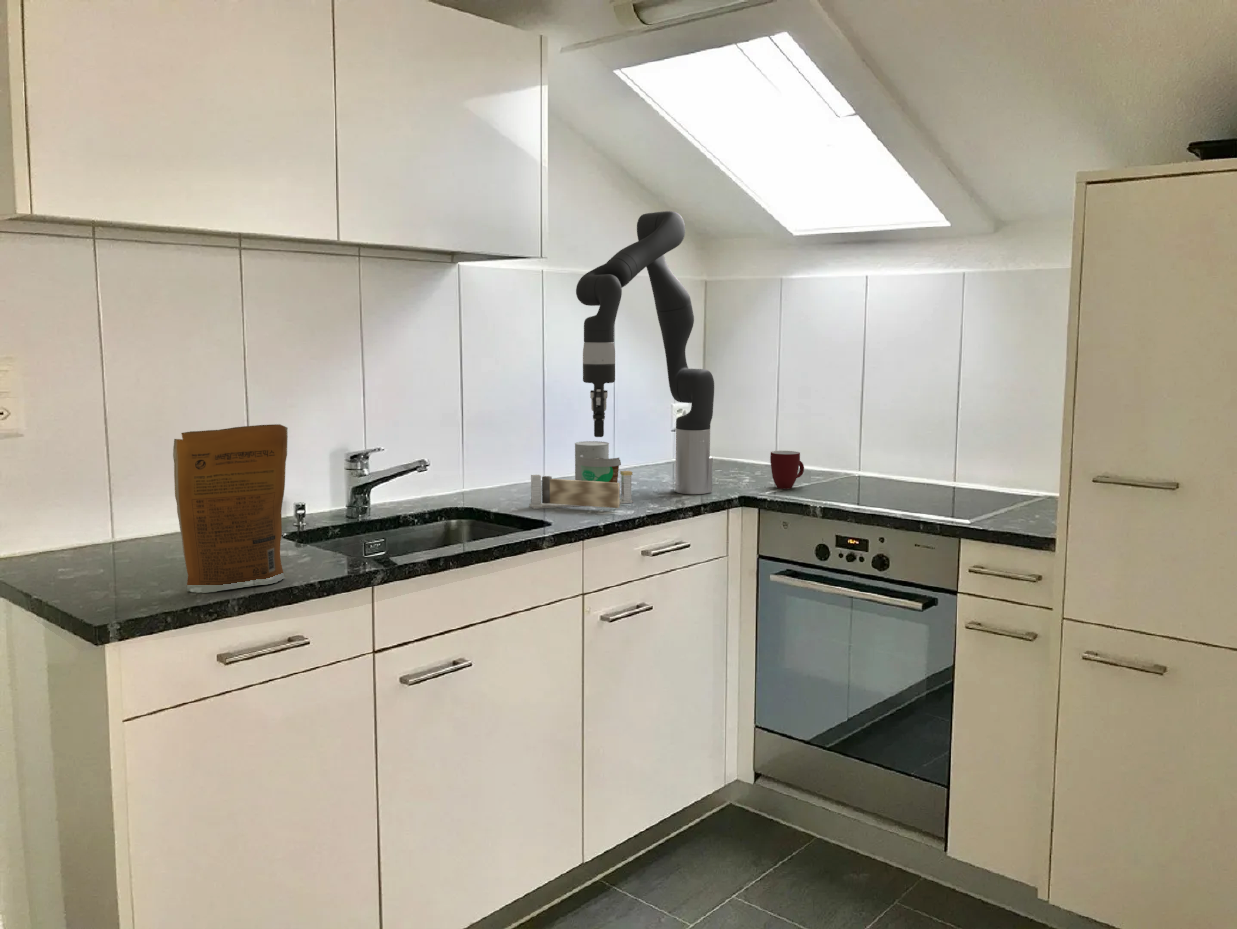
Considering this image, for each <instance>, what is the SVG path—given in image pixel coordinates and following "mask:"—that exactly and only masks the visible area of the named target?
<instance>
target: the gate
mask: <svg viewBox="0 0 1237 929" xmlns="http://www.w3.org/2000/svg"><path fill="white" fill-rule="evenodd" d="M620 485H621V482H617V483H614V482H597V481H581V480H575V479H564V478H563V479H562V478H553V476H550V475H543V476H541V504H542V503H545V504H548V503H552V504H566V505H580V506H579V507H584V506H585V507H595V508H596V507H597V508H598V507H599V508H613V509H619V508H621V507H620V505H621V504H620V499H621V497H620V496H621V495H620V494H621V493H620V492H621V490H620V489H621V488H620V487H621V486H620Z"/></svg>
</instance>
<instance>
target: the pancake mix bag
mask: <svg viewBox="0 0 1237 929" xmlns="http://www.w3.org/2000/svg"><path fill="white" fill-rule="evenodd" d="M180 433H181V434H180V435H181V438H182V439H181V438H174V440H173V449H172V450H173V452H172V459H173V466H174V467H173V473H174V474H173V476H174V477H173V478H174V497H175V501H176V512H177V513H176V514H177V518H178V522H179V530H180V536H181V543H182V552H183V558H184V562H185V568H186V572H187V581H186V586H187V585H223V584H231V583H237V582H245V581H250V580H256V579H266V578H270V577H273V576H275V575H278V574H281V573H284V569H283V565H282V559H281V543H282V541H281V540H282V537H283V536H282V535H283V532H282V531H283V530H282V528H283V525H282V523H283V522H282V508H283V503H284V502H283V501H284V497H285V487H286V465H287V464H286V463H287V458H288V427H287V426H286V425H282V424H280V423H278V424H277V423H276V424H275V423H274V424H257V425H244V426H235V427H229V428H223V429H208V430H197V431H196V430H194V431H185V432H180ZM284 574H285V573H284Z"/></svg>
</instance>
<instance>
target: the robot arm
mask: <svg viewBox="0 0 1237 929" xmlns="http://www.w3.org/2000/svg"><path fill="white" fill-rule="evenodd" d="M636 235H637V241H636V242H634V243H631V244H629V245H627V246H626V247H624V248H622V249H620V250H619V251H618V252H616V253H615V254H614V255H613V256H612V257H611V258H610V259H608V260H607V261H606V263H604V264H602V265H599V266H597V267H596V268H593V269H591V270H589V271H588V272H586V273H585V274H584V275H582V277H580V279H579V280H578V282H577V285H576V289H575V295H576V297H577V299H578V301H579V303H581V304H583V305H584V306H588V307H590V306H592V307H593V306H594V307H595V306H597V307H598V306H599V307H598V311H597V313H596V314H595V315H592V316H588V317H586V318H585V319H584V323H583V347H582V348H583V349H582V381H583V383H585V384H593V390H592V389H591V390H590V392H589V393H590V395H589V396H590V399H591V403H590V404H591V411H593V412H592V414H593V415H592V420H593V435H594V437H595V438H603V437H604V435H605V420H606V419H605V418H606V412H605V411H606V410H607V398H608V390H607V389H605V384H612V383H615V381H616V349H615V324H616V319H617V315H618V311H619V307H620V303H621V299H622V295H623V288H624V287H626V286H627V285H628V284H629V283H630V282H632V280H633V279H634V278H635V277H636V276H637V275H638V274H640V273H641V272H642V271H643V270H644V269H645V268H646V270H647V274H648V277H649V282H650V285H651V290H652V294H653V298H654V300H653V301H654V305H655V310H656V315H657V320H658V323H659V327H660V332H661V333H660V334H661V337H662V342H663V346H664V347H663V348H664V351H665V353H664V354H665V360H666V369H667V370H666V371H667V379H668V387H669V391H670V393H671V396H672V399H674V400H675V401H676V402H678V403H682V404H683V403H685V404H691V407H690V411H689V412H687V414H684V415H681V416H678V417H677V418H676V422H675V472H674V473H675V479H674V480H675V484H674V485H675V486H674V487H675V488H674V491H675V493H678V494H684V495H703V494H704V495H705V494H709V493H713V478H714V477H713V476H714V475H713V473H714V472H713V470H714V469H713V463H714V460H713V459H714V458H713V457H712V456H711V451H710V450H711V423H712V419H713V415H714V398H715V380H714V376H713V373H712V372H711V371H710V370H709V369H705V368H689V366H688V363H687V357H686V356H687V355H686V347H687V344H688V341H689V338H690V336H691V333H692V331H693V327H694V324H695V316H694V311H693V305H692V301H691V296H690V294H689V292H688V290H687V289H686V287H685V286H684V284H683V283H682V282H681V281H680V280H679V279H678V278H677V276H676V275H675V274H674V273H673V271H672V270H671V268H670V267H669V265H668V262H667V261H666V257H665V254H667V253H668V252H670V251H672V250H674V249H676V248H677V247H678V246H680V245H681V244H682V243H683V241H684V238H685V236H686V224H685V221H684V218H683V217H682V215H681V214H680V213H678V212H677V211H671V210H665V211H663V210H662V211H656V212H648V213H647V212H646V213H643V214H641V215H640V216H639V218H638V219H637V222H636Z"/></svg>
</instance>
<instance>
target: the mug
mask: <svg viewBox="0 0 1237 929" xmlns="http://www.w3.org/2000/svg"><path fill="white" fill-rule="evenodd" d="M769 458H770V459H769V462H770V470H771V476H772V480H773V483H774V485H775V487H776V488H777V489H778V490H790V489H792V488H793V486H794V485H795V483H796V481H797V479H798V478H801V477H802V476H803V474H804V472H805V465H804V463H803V461H801V452H799V451H795V450H772V451H770V457H769Z"/></svg>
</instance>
